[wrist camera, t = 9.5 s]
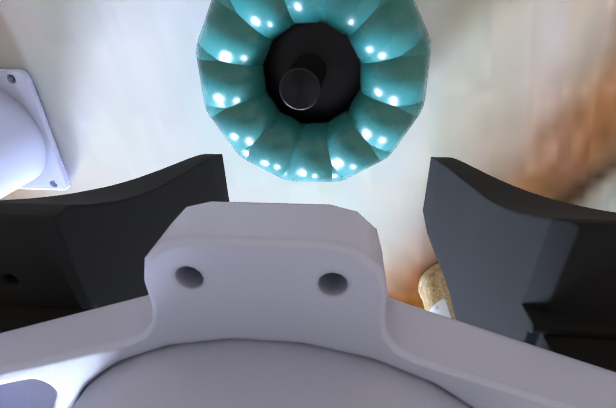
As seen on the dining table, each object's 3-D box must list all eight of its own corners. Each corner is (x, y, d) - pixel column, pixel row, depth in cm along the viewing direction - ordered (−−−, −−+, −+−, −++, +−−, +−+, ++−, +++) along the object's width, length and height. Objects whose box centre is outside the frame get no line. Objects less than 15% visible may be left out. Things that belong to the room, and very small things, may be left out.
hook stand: (248, 135, 23) (221, 172, 18) (233, -14, 19) (193, -18, 14) (378, 137, 22) (386, 176, 17) (390, -18, 18) (405, -23, 13)
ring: (227, 166, 23) (210, 190, 20) (193, -51, 17) (163, -59, 15) (410, 167, 22) (419, 193, 19) (436, -64, 16) (454, -77, 13)
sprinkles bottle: (405, 276, 27) (448, 488, 15) (463, 247, 25) (560, 462, 14) (437, 313, 28) (497, 532, 17) (493, 289, 27) (604, 514, 15)
